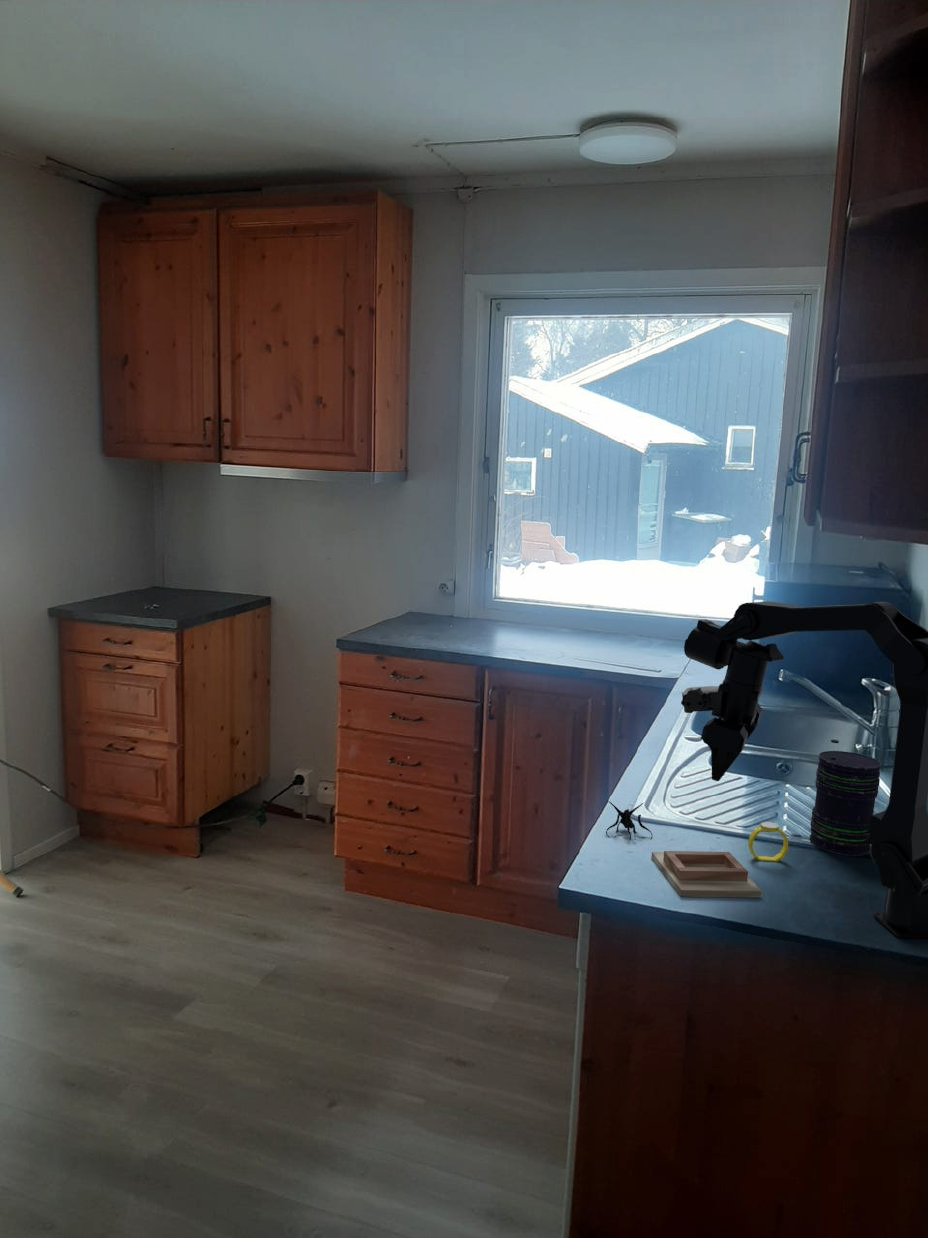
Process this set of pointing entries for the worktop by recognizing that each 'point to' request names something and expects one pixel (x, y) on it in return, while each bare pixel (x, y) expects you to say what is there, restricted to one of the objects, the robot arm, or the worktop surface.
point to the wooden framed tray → (705, 874)
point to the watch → (770, 828)
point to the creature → (627, 821)
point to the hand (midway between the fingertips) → (720, 771)
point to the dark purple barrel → (844, 802)
